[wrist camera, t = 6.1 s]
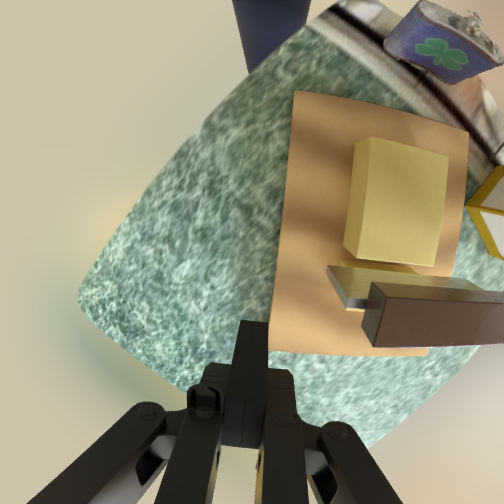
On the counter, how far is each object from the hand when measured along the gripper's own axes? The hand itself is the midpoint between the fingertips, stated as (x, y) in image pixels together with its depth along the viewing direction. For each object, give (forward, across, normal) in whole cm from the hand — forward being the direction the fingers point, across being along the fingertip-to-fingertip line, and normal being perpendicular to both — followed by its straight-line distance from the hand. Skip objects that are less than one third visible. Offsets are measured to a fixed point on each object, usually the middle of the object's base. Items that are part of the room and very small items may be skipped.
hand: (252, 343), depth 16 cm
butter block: (+11, +10, +8) cm, 17 cm away
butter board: (+12, +10, +5) cm, 17 cm away
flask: (+13, +14, +24) cm, 31 cm away
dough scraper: (+5, +10, +3) cm, 12 cm away
